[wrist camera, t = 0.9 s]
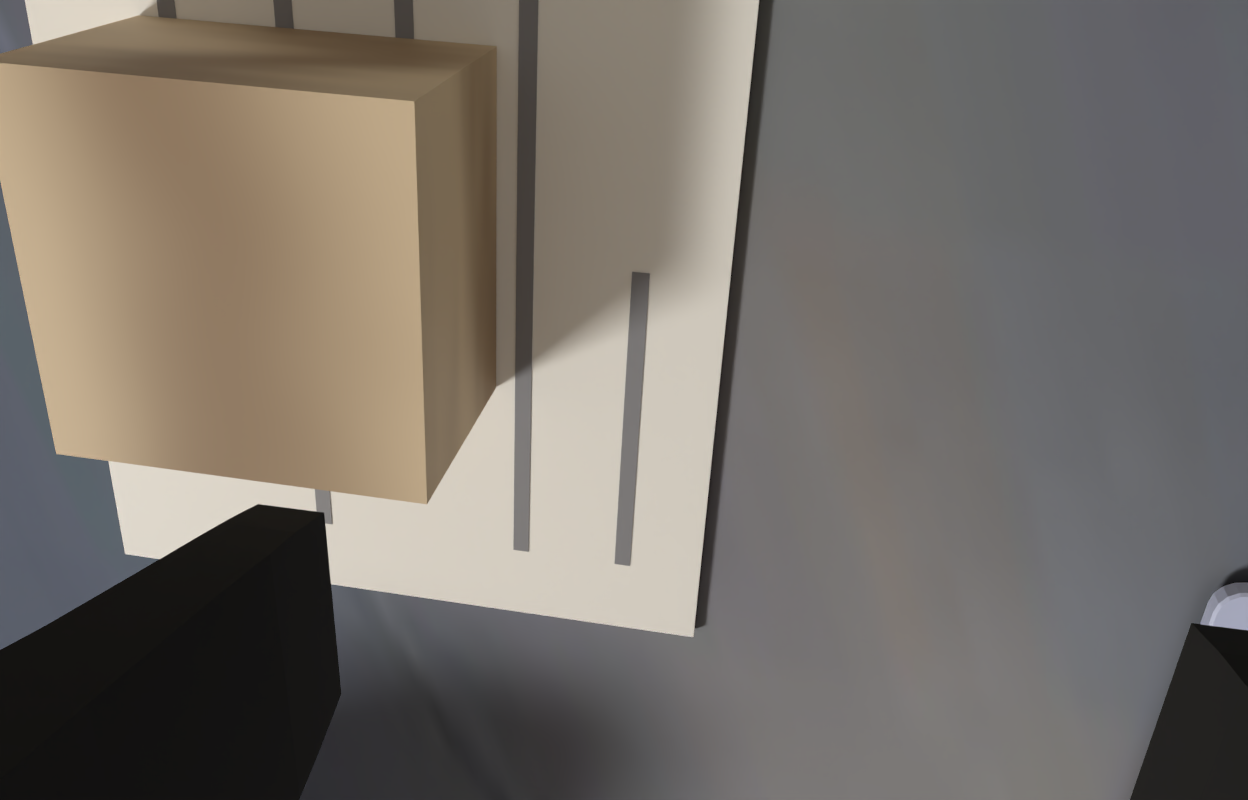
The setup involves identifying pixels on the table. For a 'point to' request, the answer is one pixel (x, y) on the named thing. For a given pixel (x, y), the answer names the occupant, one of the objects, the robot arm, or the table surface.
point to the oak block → (257, 248)
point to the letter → (543, 312)
